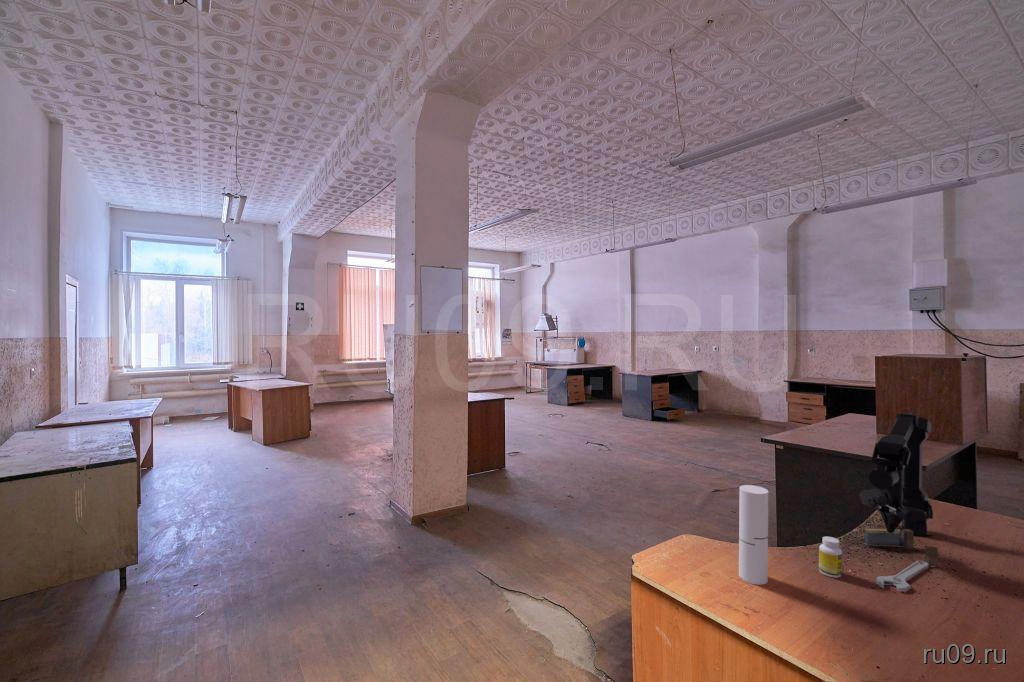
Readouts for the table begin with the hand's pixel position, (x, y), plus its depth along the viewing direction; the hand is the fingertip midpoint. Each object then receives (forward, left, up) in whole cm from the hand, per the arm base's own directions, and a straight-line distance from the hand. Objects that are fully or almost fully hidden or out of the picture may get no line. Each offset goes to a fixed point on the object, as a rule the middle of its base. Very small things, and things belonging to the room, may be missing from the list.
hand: (890, 532), depth 141 cm
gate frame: (0, +8, -7) cm, 11 cm away
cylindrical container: (+16, -48, -7) cm, 51 cm away
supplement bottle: (+12, -25, -7) cm, 29 cm away
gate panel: (-6, +2, -7) cm, 9 cm away
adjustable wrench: (+13, -4, -8) cm, 16 cm away
